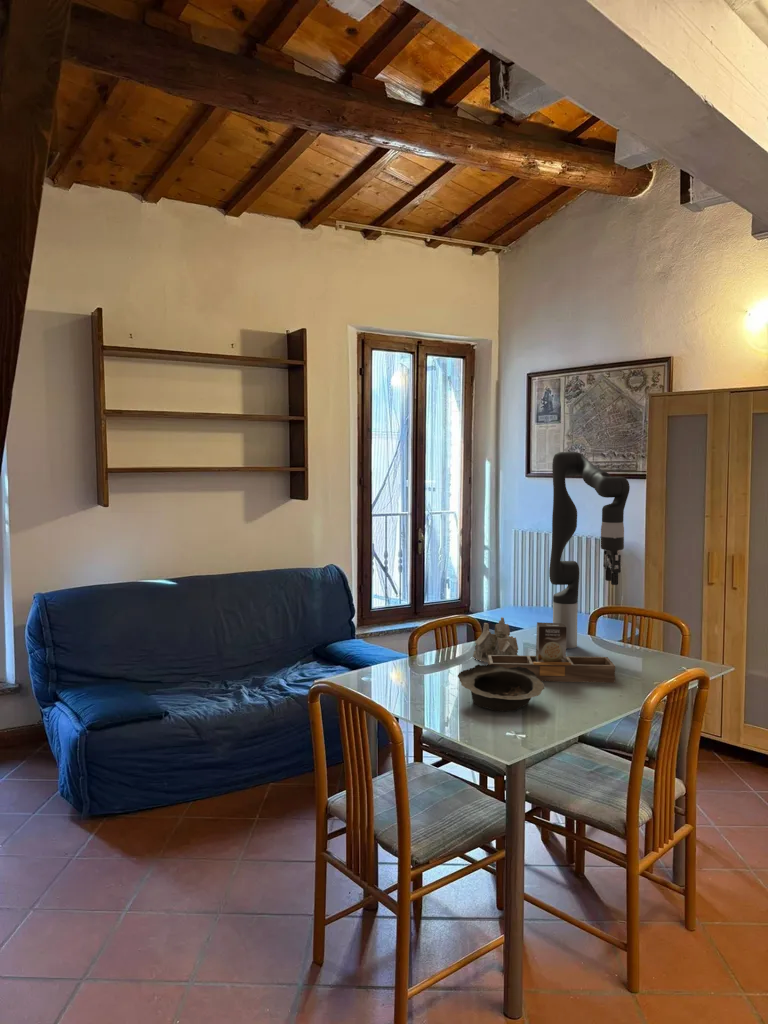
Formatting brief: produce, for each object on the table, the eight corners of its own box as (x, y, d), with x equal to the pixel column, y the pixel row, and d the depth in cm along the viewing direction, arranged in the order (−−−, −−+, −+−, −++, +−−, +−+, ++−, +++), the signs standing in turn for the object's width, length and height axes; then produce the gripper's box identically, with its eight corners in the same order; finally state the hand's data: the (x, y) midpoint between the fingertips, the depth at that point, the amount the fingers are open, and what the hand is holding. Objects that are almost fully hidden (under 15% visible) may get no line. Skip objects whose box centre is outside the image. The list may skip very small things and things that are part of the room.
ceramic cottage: (471, 653, 271) (473, 614, 269) (515, 655, 271) (518, 616, 269) (474, 667, 256) (476, 626, 254) (521, 670, 255) (524, 628, 253)
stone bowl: (485, 685, 232) (488, 657, 231) (557, 707, 216) (560, 677, 215) (441, 703, 213) (444, 673, 212) (516, 729, 197) (519, 696, 196)
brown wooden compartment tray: (487, 670, 249) (488, 653, 248) (607, 673, 246) (607, 655, 245) (490, 680, 237) (490, 662, 237) (615, 683, 234) (615, 664, 234)
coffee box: (537, 674, 239) (538, 626, 238) (535, 669, 245) (535, 622, 244) (566, 675, 238) (566, 626, 237) (563, 669, 245) (563, 622, 244)
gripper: (596, 533, 254) (595, 579, 256) (605, 537, 240) (605, 586, 241) (618, 533, 254) (617, 579, 255) (629, 537, 240) (628, 586, 241)
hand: (611, 582), depth 248 cm, fingers open, 8 cm apart
